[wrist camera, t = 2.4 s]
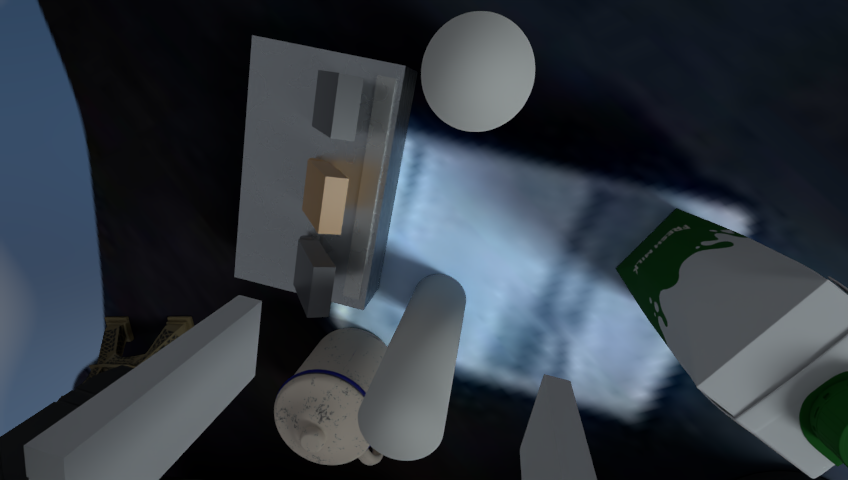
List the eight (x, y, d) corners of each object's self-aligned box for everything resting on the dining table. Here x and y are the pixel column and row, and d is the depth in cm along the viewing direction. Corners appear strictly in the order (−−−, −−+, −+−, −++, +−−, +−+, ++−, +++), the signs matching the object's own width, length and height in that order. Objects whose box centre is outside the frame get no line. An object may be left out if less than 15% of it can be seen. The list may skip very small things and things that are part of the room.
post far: (471, 281, 41) (452, 398, 24) (459, 328, 43) (434, 470, 26) (419, 268, 42) (365, 375, 25) (409, 315, 43) (351, 446, 26)
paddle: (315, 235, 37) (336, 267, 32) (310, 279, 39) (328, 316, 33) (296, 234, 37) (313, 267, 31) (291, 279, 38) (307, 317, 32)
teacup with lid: (297, 345, 46) (234, 417, 35) (368, 309, 44) (325, 375, 33) (357, 435, 48) (315, 531, 37) (429, 406, 46) (407, 499, 35)
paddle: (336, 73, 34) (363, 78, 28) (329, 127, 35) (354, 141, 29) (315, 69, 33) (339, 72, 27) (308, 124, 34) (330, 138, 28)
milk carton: (677, 330, 40) (842, 530, 21) (598, 268, 39) (692, 413, 20) (758, 258, 37) (1036, 412, 18) (675, 191, 36) (867, 274, 17)
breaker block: (417, 72, 37) (404, 65, 32) (378, 288, 43) (362, 311, 38) (282, 44, 38) (250, 34, 33) (262, 259, 44) (232, 278, 39)
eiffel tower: (192, 316, 48) (-113, 517, 24) (212, 401, 50) (-44, 659, 27) (107, 316, 49) (-256, 504, 26) (130, 399, 52) (-177, 637, 28)
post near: (524, 66, 36) (549, 22, 19) (509, 129, 37) (518, 142, 20) (463, 54, 36) (433, 1, 19) (450, 117, 38) (411, 119, 21)
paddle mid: (325, 159, 35) (348, 178, 30) (319, 207, 37) (340, 234, 31) (305, 156, 35) (325, 176, 29) (299, 205, 36) (318, 233, 30)
